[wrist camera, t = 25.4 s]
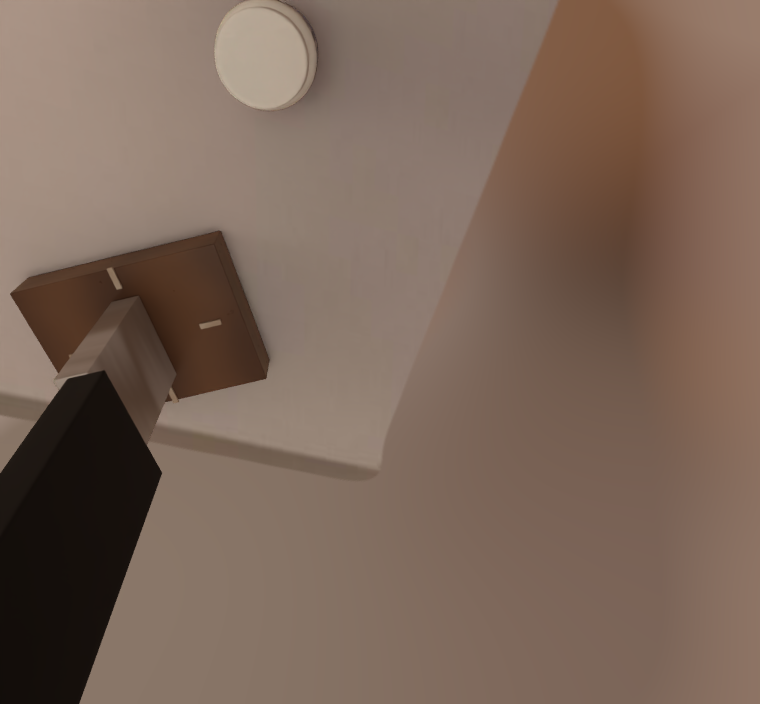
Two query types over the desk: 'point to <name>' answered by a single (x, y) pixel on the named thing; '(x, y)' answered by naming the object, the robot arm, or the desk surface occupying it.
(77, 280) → the panel
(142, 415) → the red-topped gray slab
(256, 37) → the pill bottle
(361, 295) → the desk surface
